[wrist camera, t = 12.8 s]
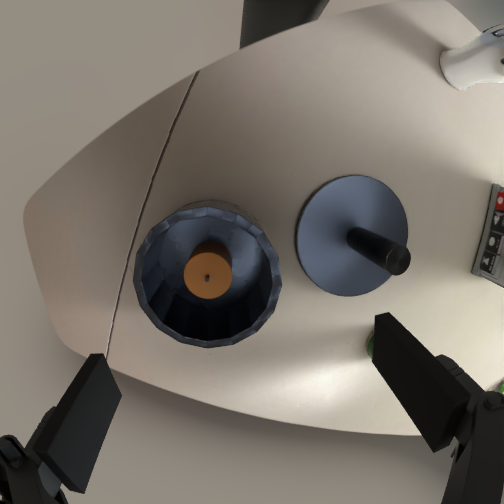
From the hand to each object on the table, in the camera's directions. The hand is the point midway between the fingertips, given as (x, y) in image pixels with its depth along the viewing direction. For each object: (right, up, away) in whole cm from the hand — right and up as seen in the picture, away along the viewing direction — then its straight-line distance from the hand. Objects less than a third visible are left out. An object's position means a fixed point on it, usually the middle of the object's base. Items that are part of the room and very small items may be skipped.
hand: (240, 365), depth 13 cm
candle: (-4, +4, +19) cm, 19 cm away
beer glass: (+29, +30, +15) cm, 44 cm away
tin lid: (+12, +7, +19) cm, 23 cm away
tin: (-4, +4, +19) cm, 20 cm away
